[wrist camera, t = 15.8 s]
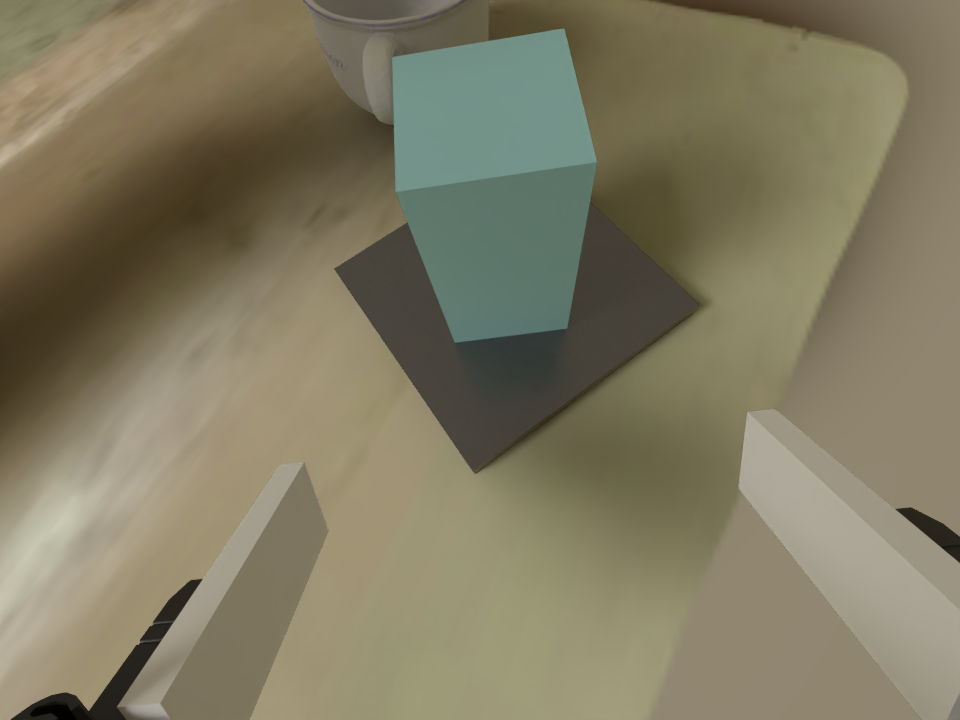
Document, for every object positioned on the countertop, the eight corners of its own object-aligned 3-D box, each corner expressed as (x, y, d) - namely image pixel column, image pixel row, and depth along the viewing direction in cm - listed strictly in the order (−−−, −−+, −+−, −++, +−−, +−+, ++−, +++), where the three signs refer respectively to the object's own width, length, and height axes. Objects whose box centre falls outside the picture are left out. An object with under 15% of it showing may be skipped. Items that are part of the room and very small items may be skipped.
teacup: (374, 34, 34) (332, -102, 27) (512, 41, 33) (507, -104, 25) (311, 175, 30) (239, 57, 22) (467, 193, 28) (445, 70, 21)
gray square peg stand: (341, 277, 27) (254, 160, 18) (529, 158, 28) (529, 1, 20) (475, 473, 22) (440, 435, 13) (692, 313, 23) (782, 191, 15)
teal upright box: (454, 342, 23) (395, 191, 13) (447, 249, 25) (392, 57, 15) (567, 328, 23) (596, 162, 13) (550, 235, 25) (564, 28, 15)
